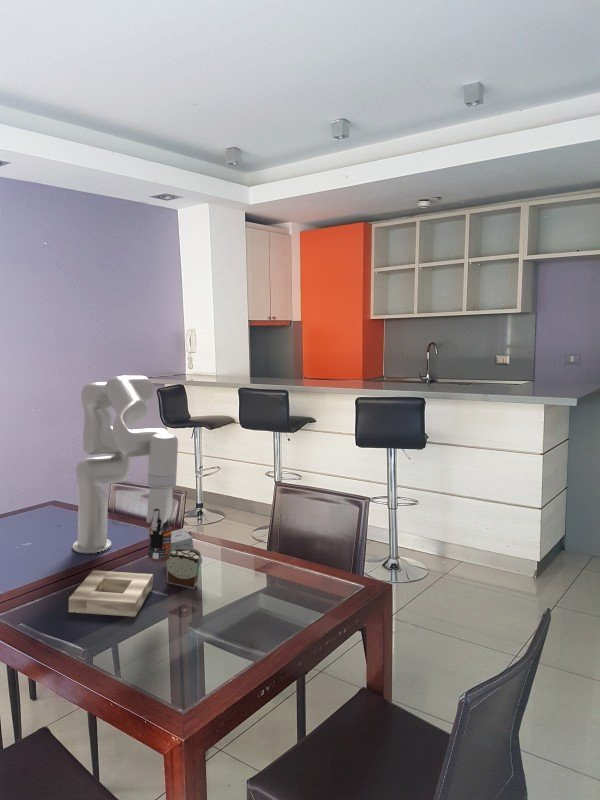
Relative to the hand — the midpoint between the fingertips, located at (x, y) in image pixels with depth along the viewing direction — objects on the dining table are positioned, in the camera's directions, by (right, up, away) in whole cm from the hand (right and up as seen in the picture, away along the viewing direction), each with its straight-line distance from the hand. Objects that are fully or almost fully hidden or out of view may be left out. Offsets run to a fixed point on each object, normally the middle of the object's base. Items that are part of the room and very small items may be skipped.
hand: (159, 542), depth 161 cm
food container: (+3, -17, +19) cm, 26 cm away
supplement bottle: (0, -5, +1) cm, 5 cm away
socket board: (-15, -17, +6) cm, 24 cm away
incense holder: (-1, -15, +32) cm, 36 cm away
